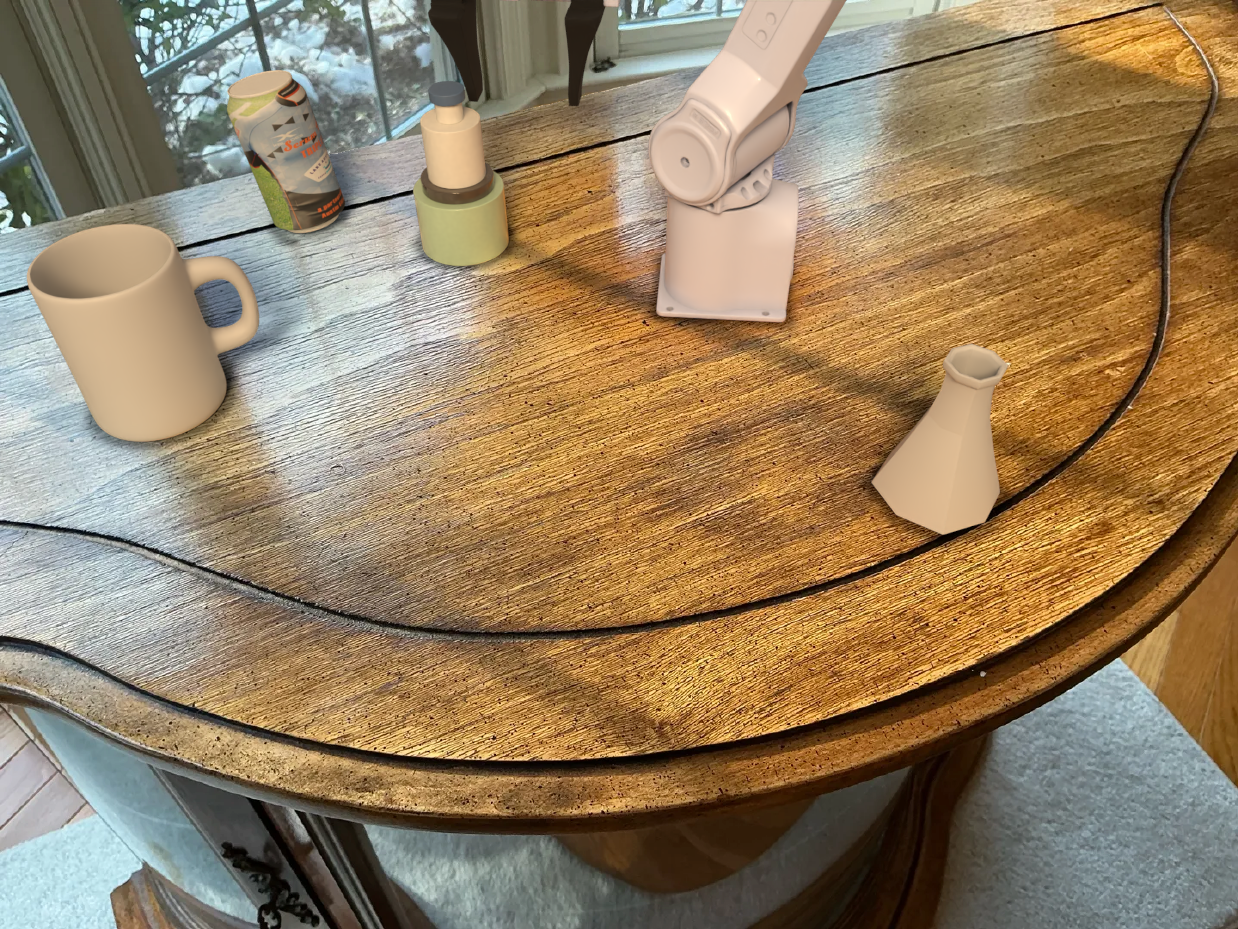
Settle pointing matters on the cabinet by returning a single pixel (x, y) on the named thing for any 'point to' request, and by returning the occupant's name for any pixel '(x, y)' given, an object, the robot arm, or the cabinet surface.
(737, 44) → the robot arm
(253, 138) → the beverage can
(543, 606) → the cabinet surface
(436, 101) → the cream bottle
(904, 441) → the flask
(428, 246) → the sage jar
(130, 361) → the mug
